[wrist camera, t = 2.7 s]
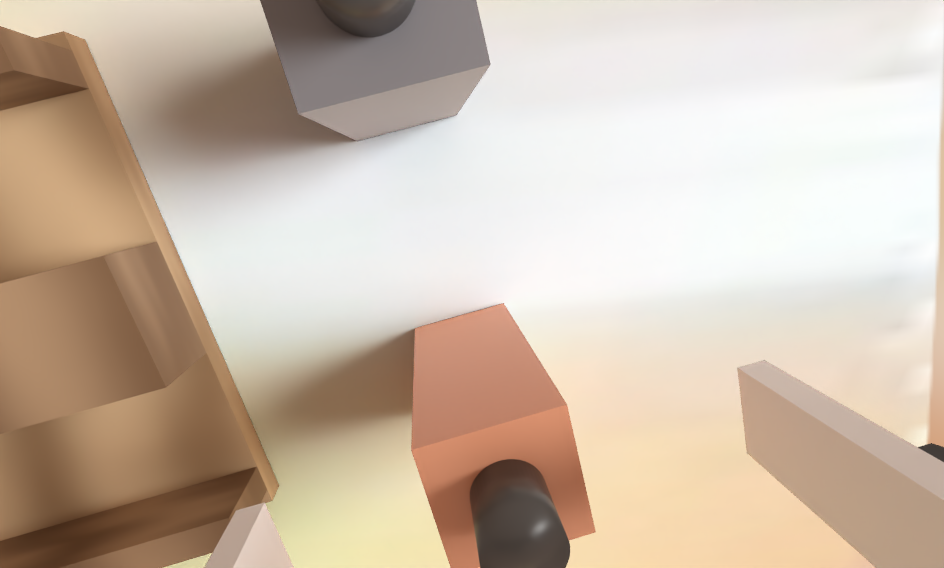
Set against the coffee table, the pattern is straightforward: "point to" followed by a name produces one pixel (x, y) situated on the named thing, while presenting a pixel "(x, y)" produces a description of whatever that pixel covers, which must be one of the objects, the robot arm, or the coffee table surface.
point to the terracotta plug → (495, 446)
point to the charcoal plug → (378, 60)
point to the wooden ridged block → (102, 342)
